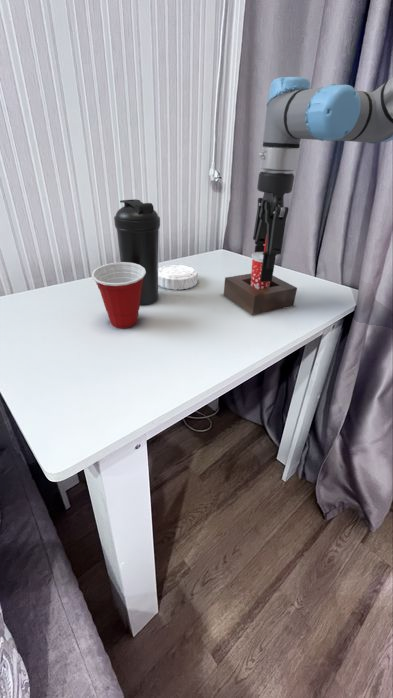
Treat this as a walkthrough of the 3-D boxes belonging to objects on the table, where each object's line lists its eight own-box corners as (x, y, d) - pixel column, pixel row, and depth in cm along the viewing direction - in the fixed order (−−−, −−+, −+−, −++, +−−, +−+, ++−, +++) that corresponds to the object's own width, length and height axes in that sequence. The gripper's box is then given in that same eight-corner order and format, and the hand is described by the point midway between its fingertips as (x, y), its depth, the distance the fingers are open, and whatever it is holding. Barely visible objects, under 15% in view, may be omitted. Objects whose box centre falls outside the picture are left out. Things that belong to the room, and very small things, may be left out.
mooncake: (188, 293, 89) (188, 280, 87) (148, 285, 92) (147, 273, 90) (203, 278, 98) (203, 267, 97) (166, 272, 102) (166, 261, 100)
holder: (262, 288, 94) (264, 271, 91) (293, 306, 84) (297, 287, 82) (223, 295, 89) (225, 277, 86) (252, 315, 79) (255, 296, 76)
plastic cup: (88, 328, 71) (79, 274, 64) (115, 308, 79) (110, 259, 73) (133, 339, 68) (129, 283, 61) (156, 317, 76) (154, 266, 70)
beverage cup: (257, 296, 81) (265, 238, 74) (242, 287, 86) (249, 232, 78) (276, 292, 84) (286, 236, 77) (260, 284, 88) (269, 230, 81)
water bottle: (146, 287, 91) (142, 196, 79) (169, 299, 85) (169, 203, 72) (113, 296, 85) (103, 199, 73) (136, 310, 79) (129, 207, 66)
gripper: (247, 167, 78) (237, 263, 90) (275, 175, 62) (258, 290, 74) (278, 168, 79) (263, 263, 91) (313, 176, 63) (290, 290, 75)
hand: (261, 275), depth 83 cm, fingers closed on beverage cup, 6 cm apart
